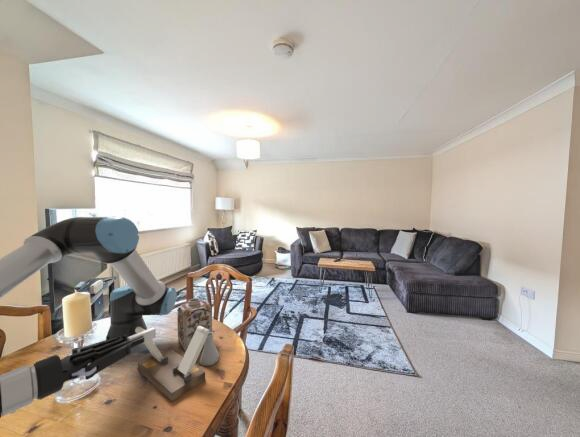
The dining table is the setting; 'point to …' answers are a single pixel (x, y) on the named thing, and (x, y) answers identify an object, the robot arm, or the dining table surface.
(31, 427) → the dining table surface
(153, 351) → the switch
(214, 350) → the flask
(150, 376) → the switch panel
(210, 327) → the decorative jar
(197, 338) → the switch
